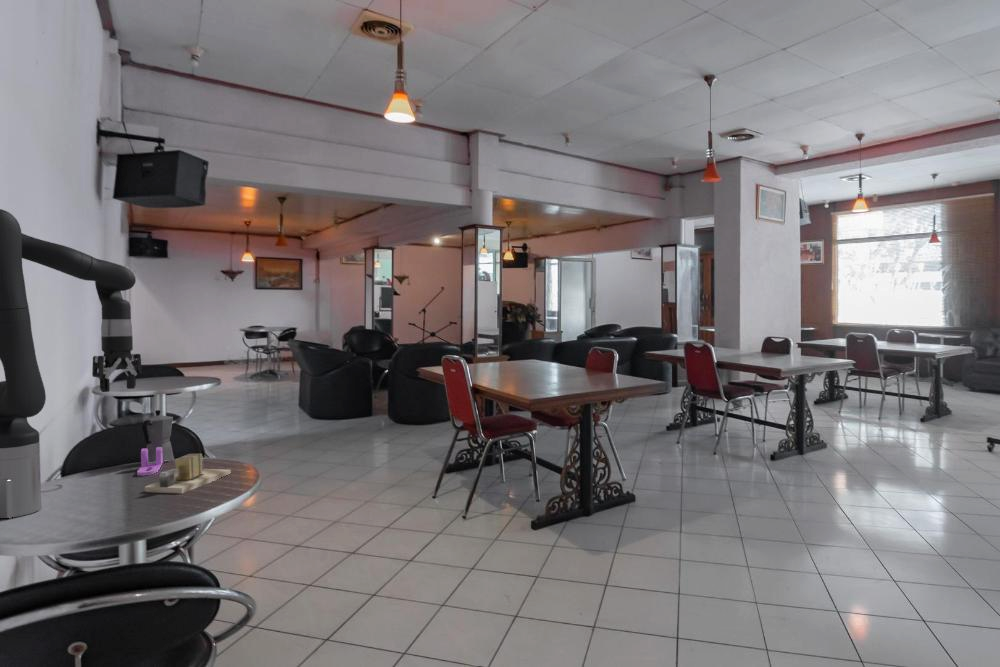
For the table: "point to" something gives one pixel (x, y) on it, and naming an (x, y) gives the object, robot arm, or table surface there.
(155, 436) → the coffeepot
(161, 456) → the bracket
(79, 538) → the table surface
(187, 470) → the tan rectangular block
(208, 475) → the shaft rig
